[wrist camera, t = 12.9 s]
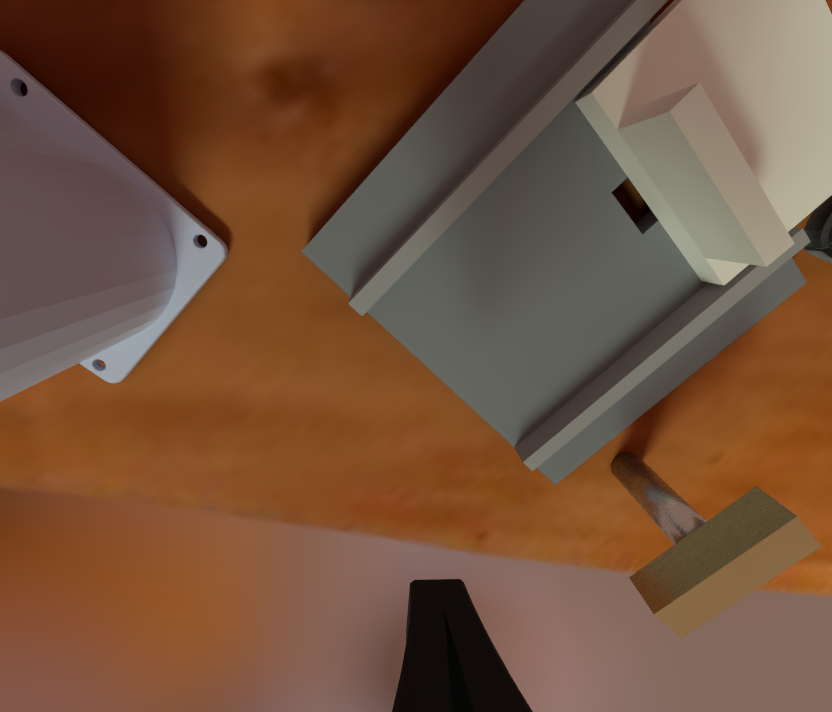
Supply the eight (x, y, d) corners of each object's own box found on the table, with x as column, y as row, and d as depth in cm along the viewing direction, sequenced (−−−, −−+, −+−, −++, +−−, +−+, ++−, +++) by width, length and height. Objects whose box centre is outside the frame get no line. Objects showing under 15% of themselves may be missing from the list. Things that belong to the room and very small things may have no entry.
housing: (306, 248, 16) (294, 254, 14) (574, -52, 14) (613, -106, 11) (546, 470, 21) (565, 501, 19) (780, 278, 18) (836, 287, 16)
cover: (574, 102, 14) (639, 64, 11) (745, -74, 13) (885, -184, 9) (701, 280, 17) (787, 299, 13) (853, 150, 15) (995, 131, 12)
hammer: (570, 489, 21) (654, 614, 15) (662, 417, 20) (797, 516, 14) (592, 509, 22) (681, 638, 15) (682, 440, 21) (821, 546, 14)
